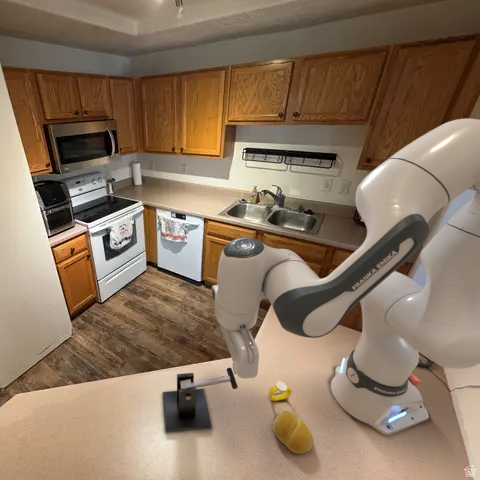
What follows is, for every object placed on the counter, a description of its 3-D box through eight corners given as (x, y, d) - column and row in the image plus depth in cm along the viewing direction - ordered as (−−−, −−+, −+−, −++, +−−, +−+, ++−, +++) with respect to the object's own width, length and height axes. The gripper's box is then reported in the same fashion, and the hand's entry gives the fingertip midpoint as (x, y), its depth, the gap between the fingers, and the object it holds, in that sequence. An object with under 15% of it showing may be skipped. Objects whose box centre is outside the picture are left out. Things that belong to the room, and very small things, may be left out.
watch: (285, 391, 76) (289, 379, 73) (290, 401, 73) (295, 389, 71) (265, 394, 75) (269, 382, 72) (270, 404, 73) (274, 392, 70)
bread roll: (302, 463, 61) (306, 455, 59) (267, 431, 67) (270, 423, 65) (317, 436, 66) (321, 428, 64) (282, 409, 72) (285, 400, 70)
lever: (231, 371, 69) (231, 365, 68) (238, 389, 65) (237, 384, 64) (180, 381, 70) (179, 375, 69) (183, 399, 65) (181, 394, 64)
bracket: (203, 390, 77) (205, 363, 71) (211, 428, 68) (214, 400, 62) (163, 394, 76) (161, 366, 70) (166, 432, 68) (165, 404, 62)
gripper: (272, 349, 46) (261, 394, 53) (235, 279, 64) (230, 320, 71) (237, 352, 46) (230, 397, 53) (210, 281, 64) (207, 322, 70)
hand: (230, 352), depth 62 cm, fingers open, 8 cm apart
